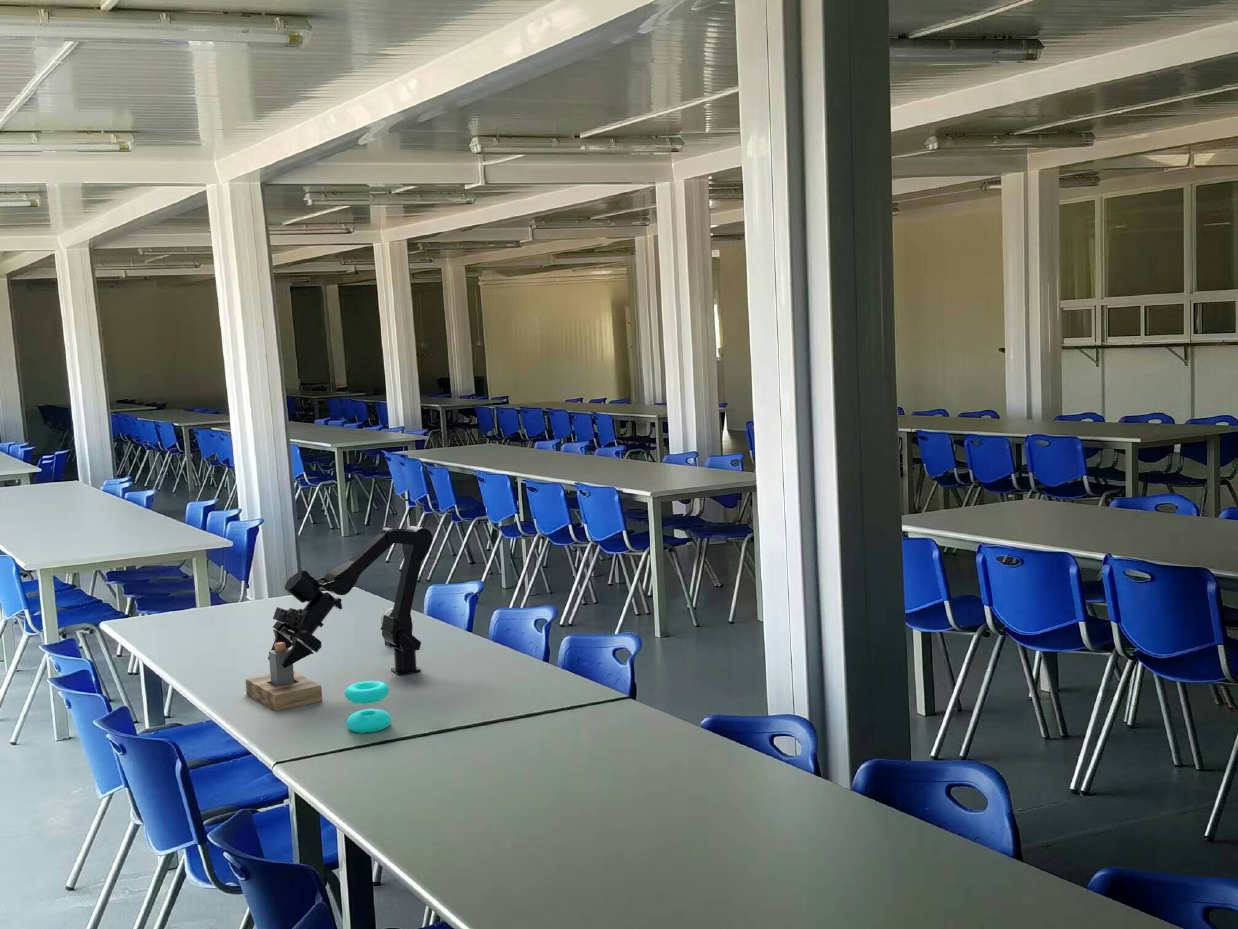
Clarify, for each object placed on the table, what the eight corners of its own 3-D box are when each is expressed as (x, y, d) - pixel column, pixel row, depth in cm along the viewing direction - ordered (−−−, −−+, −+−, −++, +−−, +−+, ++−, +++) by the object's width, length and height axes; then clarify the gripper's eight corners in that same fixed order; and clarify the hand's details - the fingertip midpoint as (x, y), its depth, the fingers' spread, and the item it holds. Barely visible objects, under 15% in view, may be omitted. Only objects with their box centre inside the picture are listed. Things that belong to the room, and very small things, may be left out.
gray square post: (288, 690, 313) (284, 640, 312) (295, 693, 310) (291, 643, 308) (271, 693, 311) (268, 643, 309) (278, 697, 307) (274, 646, 306)
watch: (412, 643, 361) (410, 606, 360) (388, 648, 356) (386, 611, 354) (403, 640, 365) (401, 604, 364) (379, 645, 360) (377, 608, 359)
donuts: (386, 677, 288) (390, 688, 279) (389, 718, 289) (393, 731, 280) (343, 682, 286) (345, 693, 276) (346, 723, 287) (348, 736, 277)
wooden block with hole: (322, 700, 306) (321, 685, 305) (276, 711, 299) (274, 695, 298) (291, 684, 322) (290, 669, 321) (246, 694, 315) (245, 679, 314)
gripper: (277, 589, 317) (239, 639, 312) (306, 600, 302) (266, 652, 297) (308, 614, 323) (271, 663, 317) (338, 626, 308) (299, 677, 303)
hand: (276, 663), depth 308 cm, fingers open, 9 cm apart
